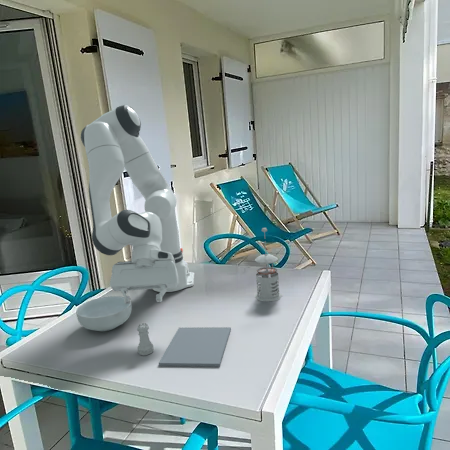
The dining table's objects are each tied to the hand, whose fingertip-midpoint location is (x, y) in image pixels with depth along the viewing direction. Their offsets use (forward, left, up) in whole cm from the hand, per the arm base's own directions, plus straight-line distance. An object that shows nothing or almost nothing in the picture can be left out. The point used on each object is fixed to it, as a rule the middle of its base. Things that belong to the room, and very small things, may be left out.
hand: (142, 302), depth 118 cm
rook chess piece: (+8, +2, -12) cm, 14 cm away
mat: (+5, +16, -11) cm, 21 cm away
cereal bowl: (-8, -17, -12) cm, 22 cm away
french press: (-32, +34, -12) cm, 48 cm away
